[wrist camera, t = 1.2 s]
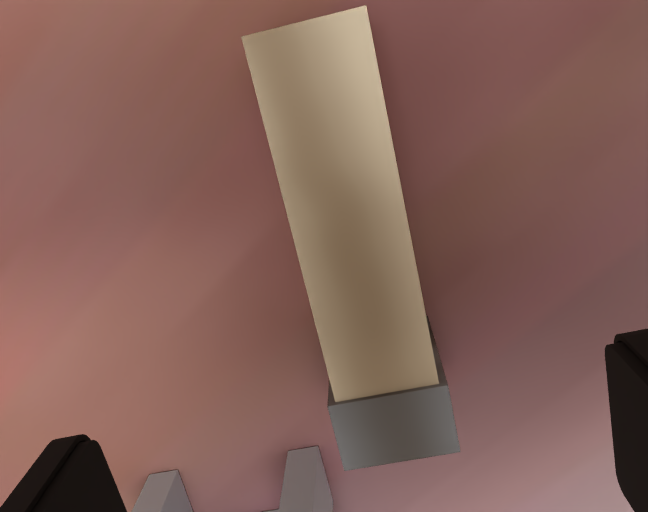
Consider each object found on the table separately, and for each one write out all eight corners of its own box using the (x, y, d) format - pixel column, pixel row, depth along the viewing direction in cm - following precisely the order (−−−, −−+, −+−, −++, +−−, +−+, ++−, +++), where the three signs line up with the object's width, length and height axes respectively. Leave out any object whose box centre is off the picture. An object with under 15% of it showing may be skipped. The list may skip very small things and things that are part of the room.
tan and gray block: (369, 15, 24) (376, 2, 18) (438, 371, 29) (460, 452, 23) (259, 42, 24) (231, 38, 19) (345, 387, 29) (344, 470, 24)
